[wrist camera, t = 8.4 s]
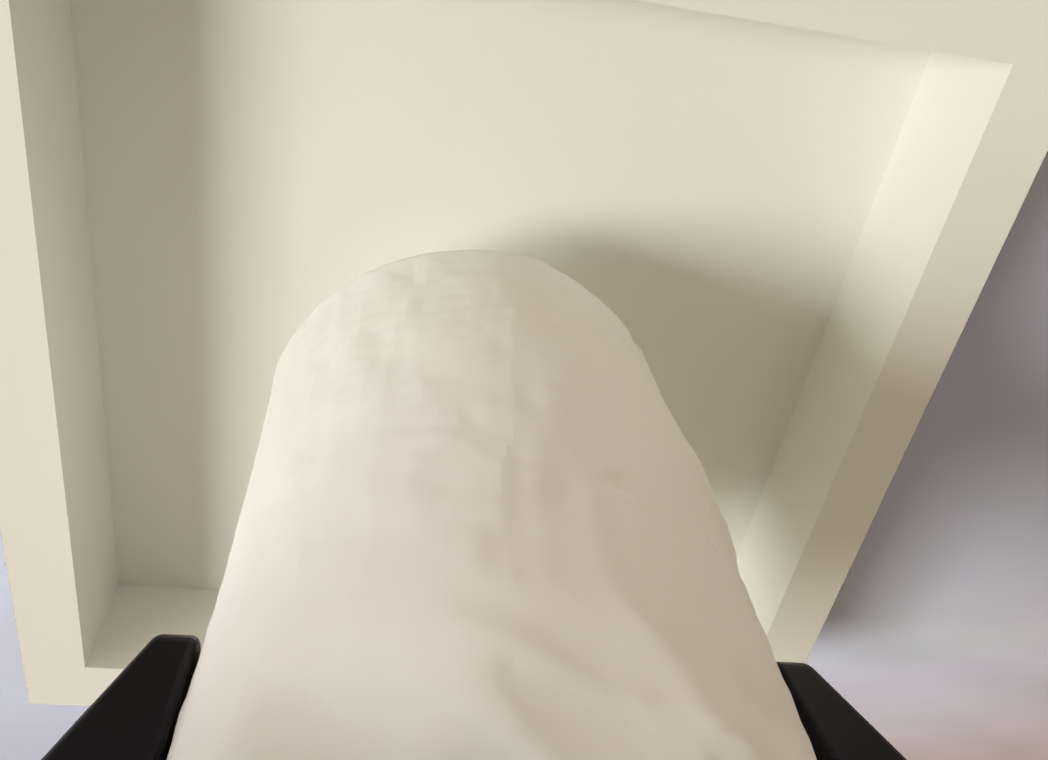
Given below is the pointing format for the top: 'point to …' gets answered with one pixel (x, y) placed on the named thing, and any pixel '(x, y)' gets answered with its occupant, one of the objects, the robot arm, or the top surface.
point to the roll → (479, 545)
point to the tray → (481, 224)
